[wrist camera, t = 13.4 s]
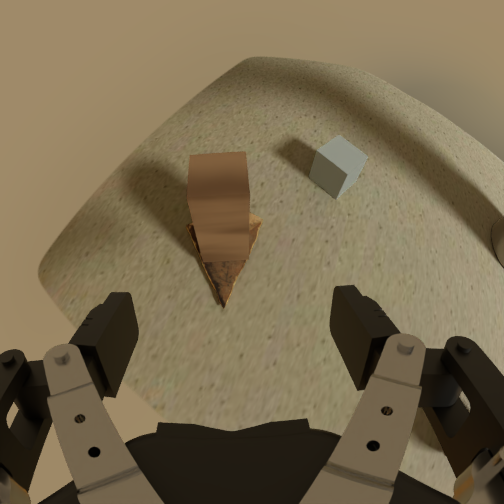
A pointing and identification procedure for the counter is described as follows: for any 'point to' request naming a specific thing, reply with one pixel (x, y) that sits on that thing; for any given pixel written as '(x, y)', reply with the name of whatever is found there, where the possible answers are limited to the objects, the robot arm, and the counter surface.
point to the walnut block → (220, 205)
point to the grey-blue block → (337, 166)
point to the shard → (226, 262)
